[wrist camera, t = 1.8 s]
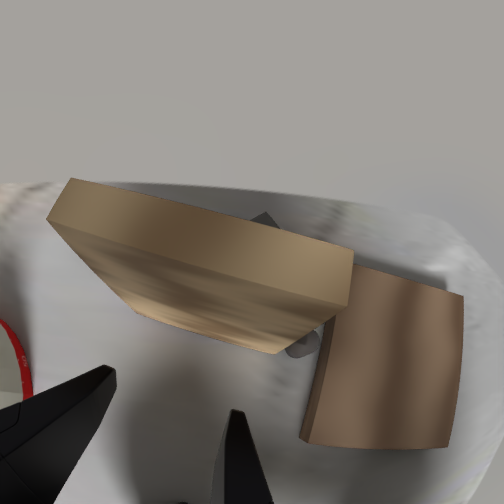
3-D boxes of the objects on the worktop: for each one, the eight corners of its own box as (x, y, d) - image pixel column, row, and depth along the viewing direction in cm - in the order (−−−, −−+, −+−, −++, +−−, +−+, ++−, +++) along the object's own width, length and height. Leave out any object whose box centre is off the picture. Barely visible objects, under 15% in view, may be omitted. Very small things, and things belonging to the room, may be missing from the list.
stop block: (276, 258, 25) (285, 235, 22) (257, 270, 25) (263, 249, 21) (260, 236, 26) (266, 211, 22) (240, 248, 25) (244, 223, 22)
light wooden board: (310, 337, 22) (412, 268, 10) (304, 361, 21) (409, 321, 9) (145, 290, 23) (71, 177, 10) (136, 313, 22) (46, 219, 9)
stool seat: (448, 304, 25) (463, 296, 22) (431, 444, 19) (447, 447, 16) (333, 272, 25) (344, 260, 23) (299, 437, 19) (307, 443, 17)
